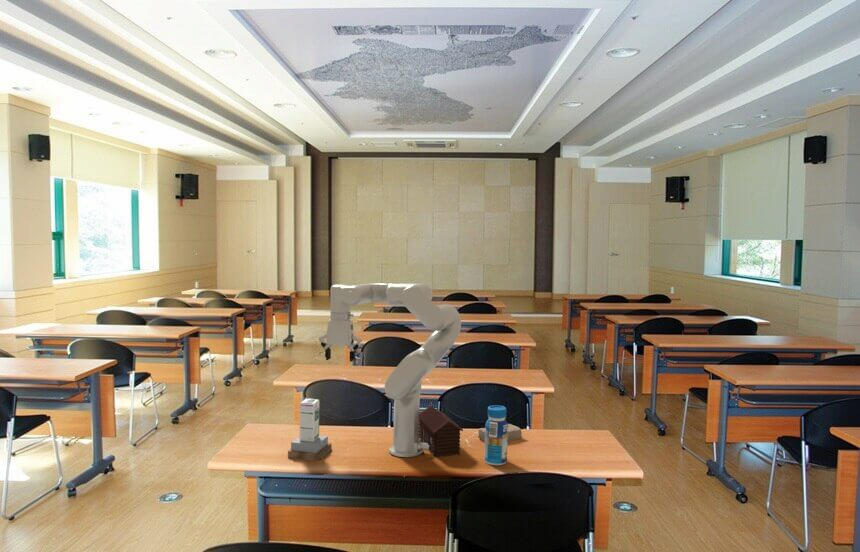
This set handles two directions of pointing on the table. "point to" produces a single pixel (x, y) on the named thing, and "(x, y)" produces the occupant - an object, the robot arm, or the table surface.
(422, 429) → the model building
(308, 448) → the tower top
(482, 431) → the brick
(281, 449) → the table surface
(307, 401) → the syrup box
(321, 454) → the tower base
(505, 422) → the beverage bottle
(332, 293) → the robot arm
